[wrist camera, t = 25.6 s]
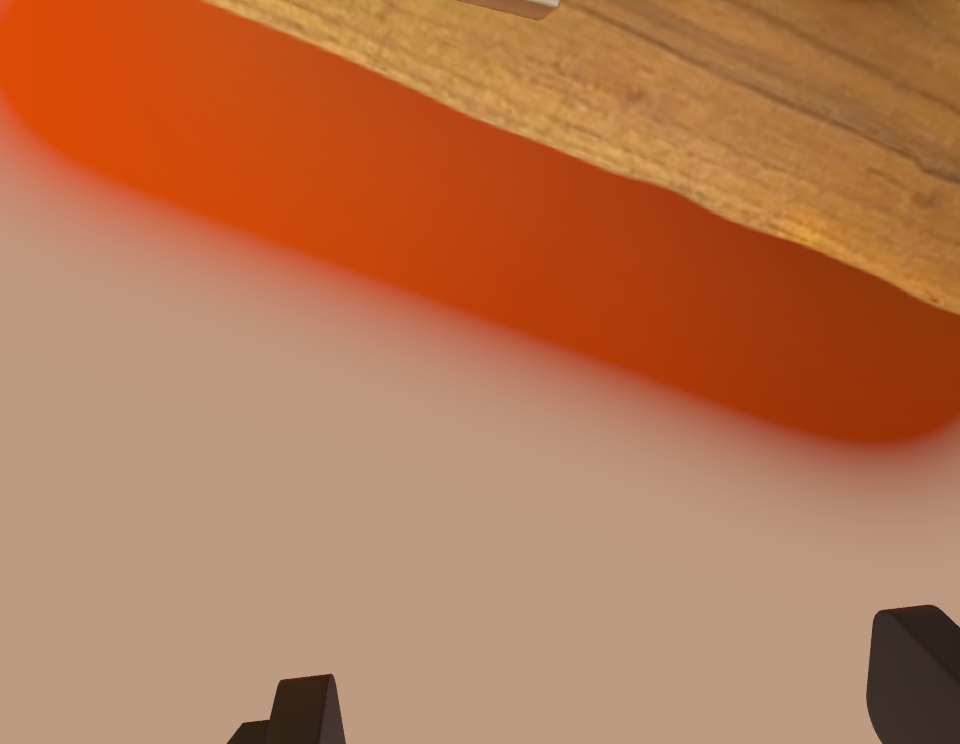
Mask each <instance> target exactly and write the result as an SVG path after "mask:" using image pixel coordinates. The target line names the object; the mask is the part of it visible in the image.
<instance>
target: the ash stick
mask: <svg viewBox="0 0 960 744" xmlns="http://www.w3.org/2000/svg"><path fill="white" fill-rule="evenodd" d="M458 1H462V2H466V3H470V4H474V5H478V6H482V7H486V8H490V9H494V10H498V11H502V12H506V13H510V14H514V15H518V16H522V17H526V18H530V19H534V20H538V21H540V20H542V19H543V18H545V17H546V16H548V15H549V14H550V13H552V12H553V11H555V10H556V9H557V8H558V7H559V5H560V1H561V0H458Z"/></svg>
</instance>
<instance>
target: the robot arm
mask: <svg viewBox="0 0 960 744" xmlns="http://www.w3.org/2000/svg"><path fill="white" fill-rule="evenodd" d="M866 699H867V707H868V712H869V716H870V719H871V722H872V725H873V727H874V730H875V732H876V734H877V736H878V737H879V739H880V741H881V742H882V744H960V627H959V626H958V625H956V624H955V623H954V622H953V621H952V620H951V619H950V618H949V617H948V616H947V615H946V614H945V613H944V612H943V611H942V610H940V609H939V608H938V607H935V606H933V605H922V606H913V607H905V608H897V609H888V610H881V611H879V612H878V613H877V614H876V615H875V617H874V620H873V627H872V638H871V649H870V660H869V671H868V682H867V695H866ZM227 744H346V742H345V737H344V730H343V724H342V718H341V712H340V706H339V701H338V694H337V688H336V683H335V679H334V676H333V675H332V674H327V675H318V676H310V677H301V678H293V679H284V680H281V681H280V682H279V684H278V687H277V691H276V695H275V699H274V703H273V708H272V712H271V716H270V720H263V721H255V722H247V723H243V724H242V725H241V726H240V727H239V729H238V730H237V731H236V732H235V734H234V735H233V736H232V738H231V739H230V740H229V741H228V743H227Z"/></svg>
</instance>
